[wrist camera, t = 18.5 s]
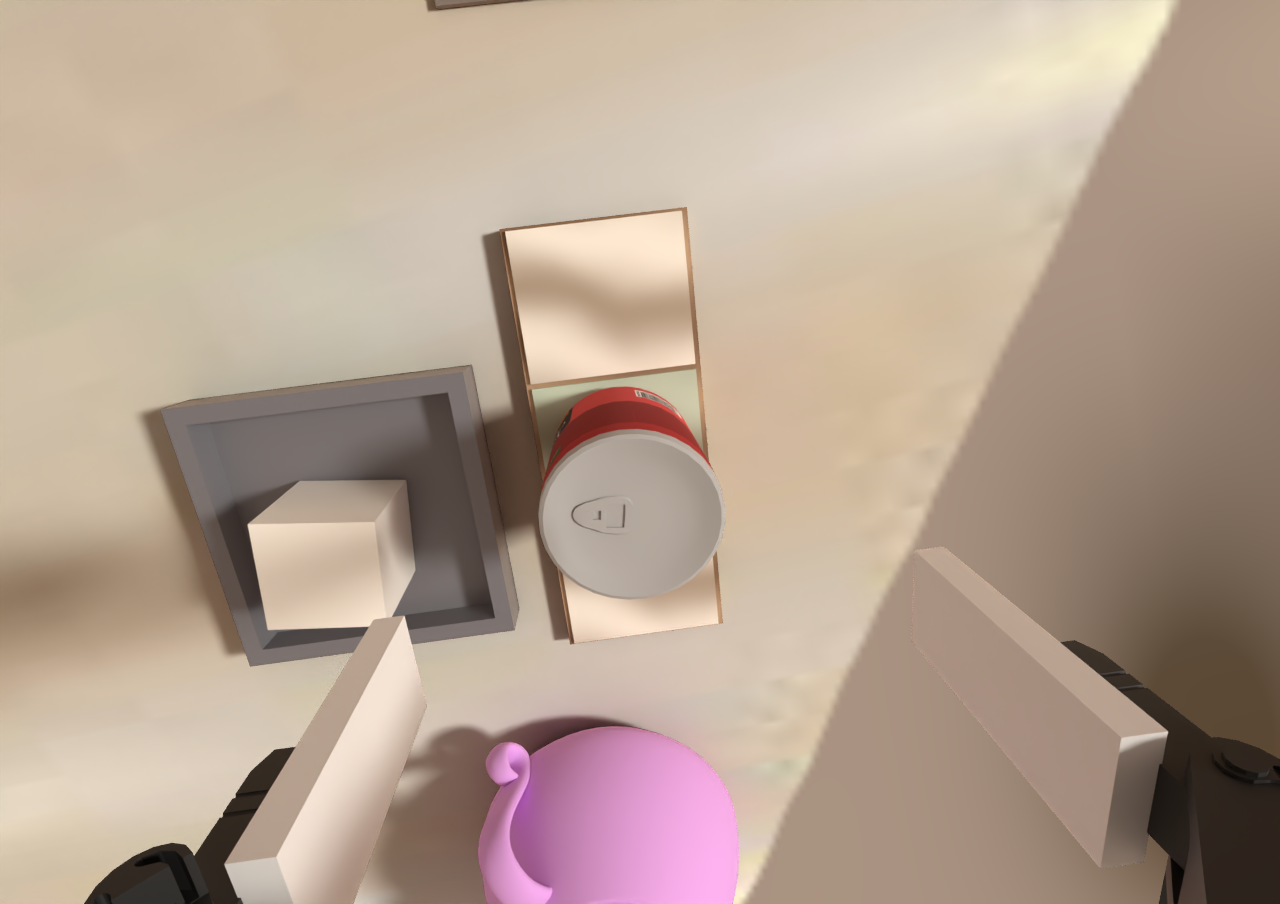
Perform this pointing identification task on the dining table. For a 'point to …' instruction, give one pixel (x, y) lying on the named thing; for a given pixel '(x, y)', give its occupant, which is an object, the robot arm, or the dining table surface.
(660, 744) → the teapot
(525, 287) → the board
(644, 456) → the canned food
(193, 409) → the dice tray
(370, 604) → the cream cube
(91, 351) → the dining table surface
